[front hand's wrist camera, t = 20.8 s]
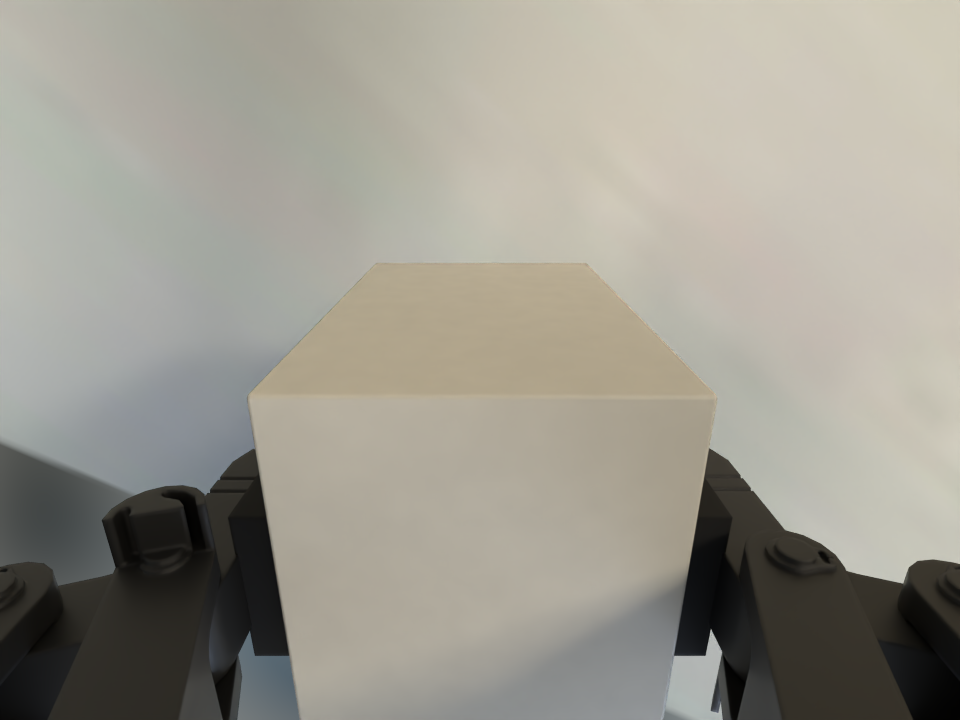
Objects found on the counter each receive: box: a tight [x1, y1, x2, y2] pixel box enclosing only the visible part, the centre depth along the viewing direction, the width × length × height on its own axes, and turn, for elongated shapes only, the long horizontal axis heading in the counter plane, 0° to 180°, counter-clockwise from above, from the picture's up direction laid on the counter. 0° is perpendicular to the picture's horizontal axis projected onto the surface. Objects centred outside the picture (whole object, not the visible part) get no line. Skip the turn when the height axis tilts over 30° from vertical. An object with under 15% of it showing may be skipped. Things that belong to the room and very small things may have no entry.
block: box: [247, 263, 717, 720], centre depth 12 cm, size 7×6×9 cm
